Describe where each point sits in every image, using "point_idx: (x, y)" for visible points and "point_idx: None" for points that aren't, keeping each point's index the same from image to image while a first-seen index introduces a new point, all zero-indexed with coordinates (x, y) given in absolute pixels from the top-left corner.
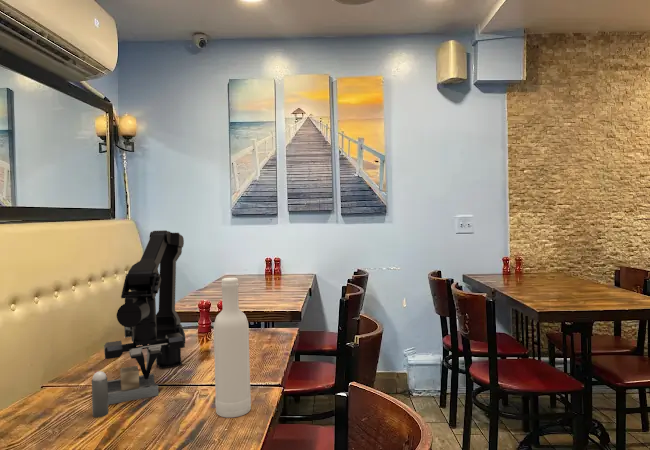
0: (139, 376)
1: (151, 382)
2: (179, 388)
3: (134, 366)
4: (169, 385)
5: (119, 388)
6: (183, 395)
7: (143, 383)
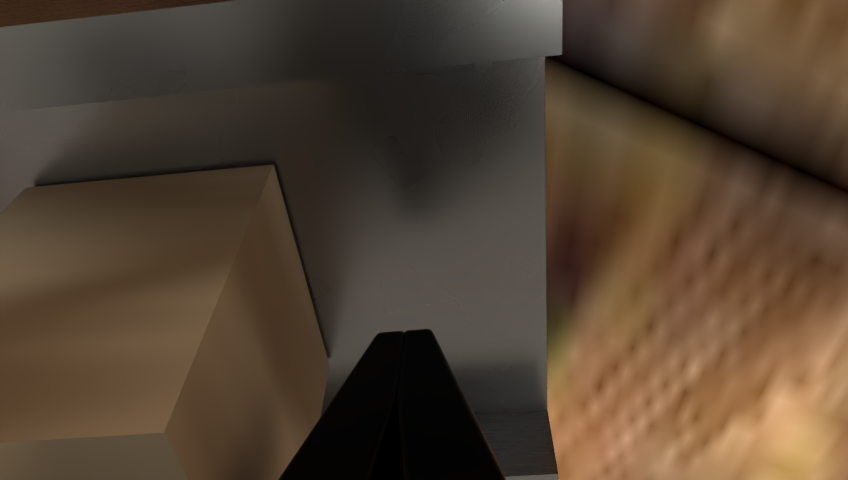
0: (255, 58)
1: (490, 123)
2: (813, 307)
3: (111, 469)
4: (741, 160)
5: (10, 187)
6: (767, 470)
7: (358, 118)
